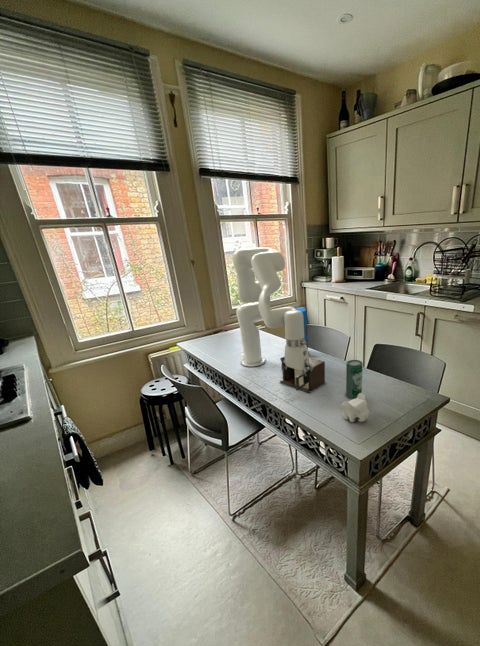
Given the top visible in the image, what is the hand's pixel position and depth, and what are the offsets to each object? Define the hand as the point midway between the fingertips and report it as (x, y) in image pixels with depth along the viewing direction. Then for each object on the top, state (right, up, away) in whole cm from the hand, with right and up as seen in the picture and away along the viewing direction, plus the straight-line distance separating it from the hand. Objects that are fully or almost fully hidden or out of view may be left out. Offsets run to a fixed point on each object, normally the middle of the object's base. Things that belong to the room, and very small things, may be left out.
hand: (297, 380), depth 133 cm
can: (+24, -7, +1) cm, 25 cm away
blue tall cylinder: (0, +13, +48) cm, 50 cm away
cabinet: (+3, -2, +14) cm, 14 cm away
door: (0, -4, +5) cm, 7 cm away
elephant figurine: (+22, -14, -15) cm, 30 cm away
